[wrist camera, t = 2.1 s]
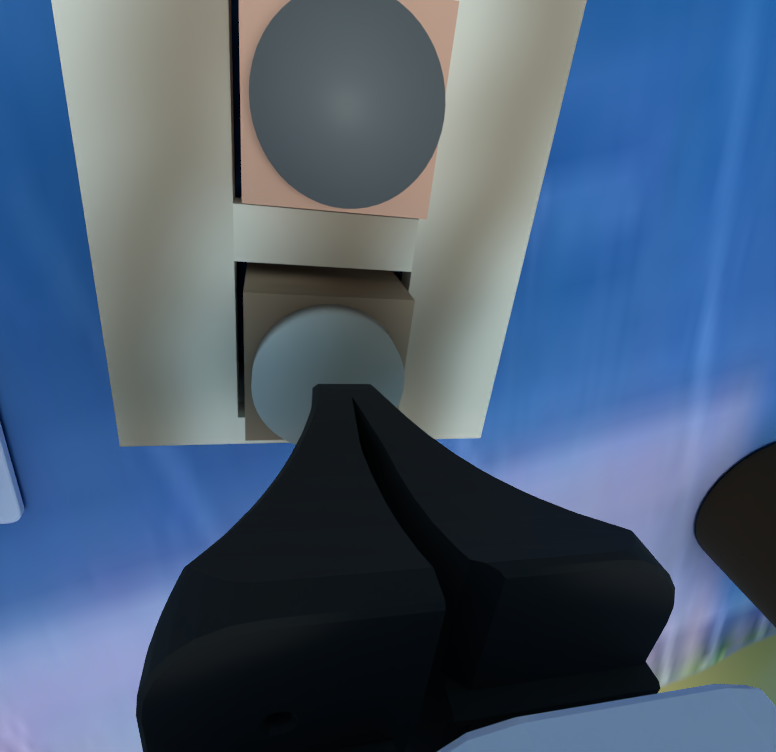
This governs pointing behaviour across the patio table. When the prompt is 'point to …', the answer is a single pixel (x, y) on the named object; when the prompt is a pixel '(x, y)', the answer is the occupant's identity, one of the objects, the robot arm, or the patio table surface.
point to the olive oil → (745, 528)
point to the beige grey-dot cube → (343, 102)
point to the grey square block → (294, 209)
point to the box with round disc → (318, 339)
